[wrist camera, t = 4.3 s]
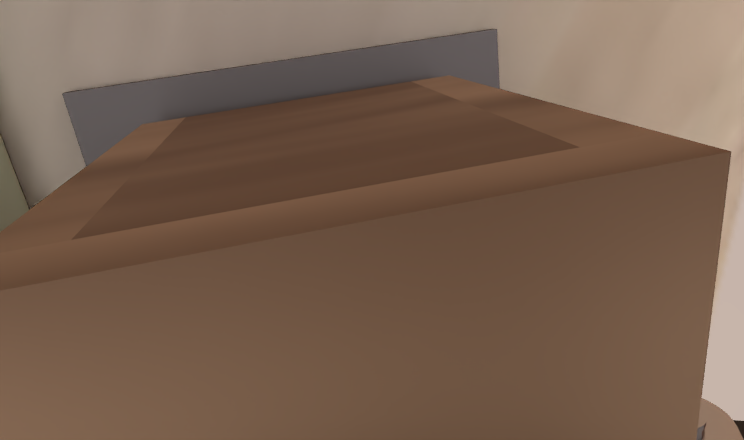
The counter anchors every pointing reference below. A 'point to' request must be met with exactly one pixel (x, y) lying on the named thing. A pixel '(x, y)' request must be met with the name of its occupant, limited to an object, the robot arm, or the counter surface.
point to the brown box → (368, 276)
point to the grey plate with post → (274, 84)
